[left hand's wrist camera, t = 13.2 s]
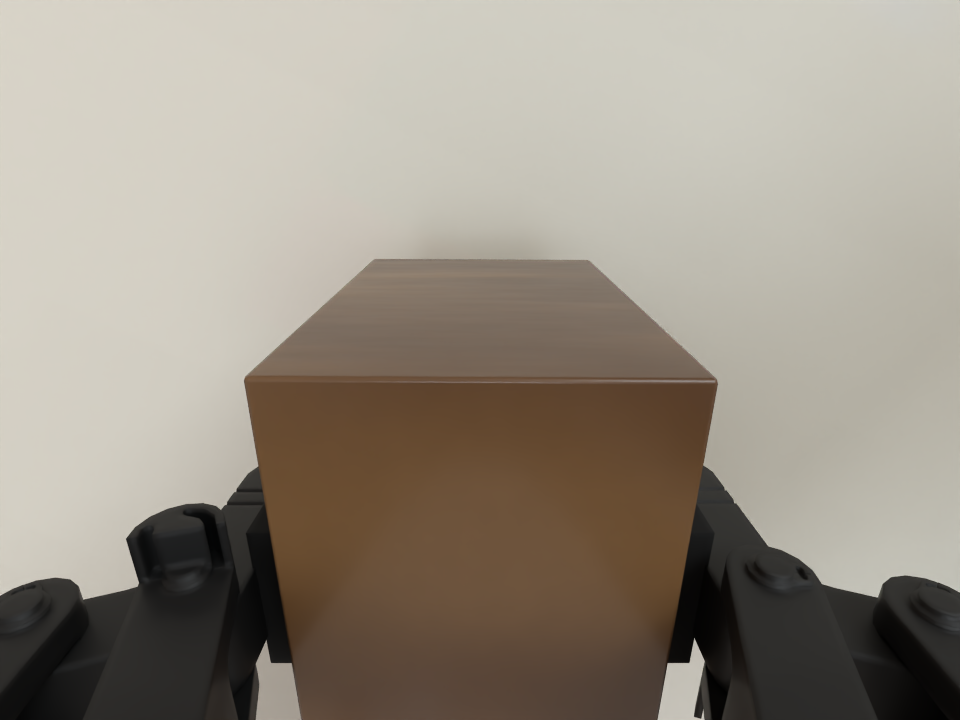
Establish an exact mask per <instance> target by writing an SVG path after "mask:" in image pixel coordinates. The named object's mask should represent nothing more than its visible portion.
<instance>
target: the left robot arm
mask: <svg viewBox="0 0 960 720" xmlns="http://www.w3.org/2000/svg"><path fill="white" fill-rule="evenodd" d="M126 540H127V544H128V547H129V551H130V554H131V557H132V561H133V564H134V567H135V571H136V574H137V577H138V581H139V585H138V587H135V588H132V589H129V590H125V591H120V592H116V593H112V594H107V595H103V596H98V597H94V598H90V599H85V600H83V598H82V595H81V592H80V589H79V586H78V585H76V584H75V583H74V582H73V581H71V580H70V579H62V578H50V579H44V580H38V581H34V582H31V583H28V584H25V585H22V586H19V587H17V588H14V589H12V590H10V591H8V592H6V593H5V594H3V595H1V596H0V720H256V710H257V701H258V691H259V680H258V673H257V668H256V662H257V659H258V657H259V655H260V653H261V650H262V648H263V646H264V644H265V642H266V639H267V644H268V650H269V655H270V660H271V663H292V661H291V655H290V649H289V643H288V637H287V631H286V625H285V619H284V613H283V607H282V602H281V596H280V590H279V584H278V578H277V572H276V566H275V560H274V554H273V548H272V543H271V537H270V531H269V525H268V519H267V513H266V507H265V501H264V495H263V489H262V483H261V478H260V472H259V467H257V468H256V469H254V470H253V471H251V472H250V473H248V475H247V476H246V477H245V479H244V480H243V481H242V483H241V484H240V485H239V487H238V488H237V492H234V493H233V495H232V496H231V498H230V499H229V500H228V502H227V505H225V506H224V507H223V508H222V510H220V509H219V508H218V507H216V506H213V505H208V504H204V503H199V504H185V505H181V506H177V507H173V508H169V509H166V510H164V511H162V512H160V513H158V514H155V515H153V516H151V517H149V518H148V519H146V520H145V521H143V522H142V523H141V524H139V525H138V526H136V527H135V528H134V530H133V531H132V532H131V533H130V535H129V536H128V537H127V538H126ZM694 638H695V640H696V642H697V645H698V647H699V649H700V651H701V654H702V656H703V658H704V660H705V663H704V668H703V673H702V677H701V682H700V687H699V692H698V696H697V701H696V706H695V713H694V717H697V718H701V717H702V713H703V709H704V718H705V720H960V593H959V592H957V591H956V590H954V589H952V588H950V587H948V586H945V585H943V584H940V583H937V582H934V581H931V580H928V579H925V578H918V577H912V576H898V577H891V578H890V579H889V580H887V581H886V582H885V583H884V584H883V585H882V588H881V591H880V594H879V596H878V598H876V597H872V596H867V595H863V594H859V593H854V592H850V591H845V590H841V589H837V588H833V587H829V586H826V585H823V584H821V582H820V581H819V579H818V578H817V576H816V575H815V573H814V572H813V570H811V569H810V568H809V567H808V566H807V565H805V564H804V563H803V562H802V561H800V560H799V559H798V558H796V557H794V556H792V555H790V554H788V553H786V552H784V551H782V550H779V549H775V548H772V547H768V546H767V544H766V543H765V542H764V540H763V539H762V538H761V536H760V535H759V534H758V532H757V531H756V530H755V528H754V527H753V525H752V524H751V523H750V521H749V520H748V519H747V517H746V516H745V515H744V513H743V512H742V511H741V509H740V508H739V507H738V505H737V504H734V500H733V499H732V497H731V496H730V495H729V493H728V492H727V491H725V490H724V487H723V485H722V484H721V482H720V481H719V480H718V478H717V477H716V476H715V474H714V473H713V472H712V471H710V470H709V469H708V468H706V467H705V466H703V469H702V474H701V480H700V485H699V491H698V496H697V502H696V508H695V513H694V519H693V524H692V530H691V535H690V541H689V547H688V552H687V558H686V563H685V569H684V574H683V580H682V585H681V591H680V597H679V602H678V608H677V613H676V619H675V624H674V630H673V636H672V641H671V647H670V652H669V658H668V663H689V662H690V657H691V652H692V647H693V642H694Z"/></svg>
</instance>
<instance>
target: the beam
mask: <svg viewBox="0 0 960 720" xmlns="http://www.w3.org/2000/svg"><path fill="white" fill-rule="evenodd" d="M244 383H245V389H246V395H247V401H248V407H249V413H250V419H251V424H252V430H253V436H254V442H255V448H256V454H257V460H258V466H259V472H260V478H261V483H262V489H263V495H264V501H265V507H266V513H267V519H268V525H269V531H270V537H271V543H272V548H273V554H274V560H275V566H276V572H277V578H278V584H279V590H280V596H281V602H282V607H283V613H284V619H285V625H286V631H287V637H288V643H289V649H290V655H291V661H292V666H293V672H294V678H295V684H296V690H297V696H298V702H299V708H300V714H301V720H657V719H658V713H659V708H660V702H661V697H662V691H663V686H664V680H665V674H666V669H667V663H668V658H669V652H670V647H671V641H672V636H673V630H674V624H675V619H676V613H677V608H678V602H679V597H680V591H681V585H682V580H683V574H684V569H685V563H686V558H687V552H688V547H689V541H690V535H691V530H692V524H693V519H694V513H695V508H696V502H697V496H698V491H699V485H700V480H701V474H702V469H703V463H704V458H705V452H706V446H707V441H708V435H709V430H710V424H711V419H712V413H713V407H714V402H715V396H716V391H717V385H718V382H717V379H716V378H715V377H714V376H713V375H712V374H711V373H710V372H709V371H708V370H706V369H705V368H704V367H703V366H702V365H701V364H700V363H699V362H698V361H697V360H696V359H695V358H694V357H692V356H691V355H690V354H689V353H688V352H687V351H686V350H685V349H684V348H683V347H682V346H681V345H679V344H678V343H677V342H676V341H675V340H674V339H673V338H672V337H671V336H670V335H669V334H668V333H667V332H665V331H664V330H663V329H662V328H661V327H660V326H659V325H658V324H657V323H656V322H655V321H654V320H653V319H651V318H650V317H649V316H648V315H647V314H646V313H645V312H644V311H643V310H642V309H641V308H640V307H639V306H637V305H636V304H635V303H634V302H633V301H632V300H631V299H630V298H629V297H628V296H627V295H626V294H624V293H623V292H622V291H621V290H620V289H619V288H618V287H617V286H616V285H615V284H614V283H613V282H612V281H610V280H609V279H608V278H607V277H606V276H605V275H604V274H603V273H602V272H601V271H600V270H599V269H598V268H596V267H595V266H594V265H593V264H592V263H591V262H590V261H588V260H446V259H375V260H373V261H372V262H371V263H370V264H369V265H368V266H366V267H365V268H364V269H363V270H362V271H361V272H360V273H359V274H358V275H357V276H355V277H354V278H353V279H352V280H351V281H350V282H349V283H348V284H347V285H346V286H344V287H343V288H342V289H341V290H340V291H339V292H338V293H337V294H336V295H335V296H333V297H332V298H331V299H330V300H329V301H328V302H327V303H326V304H325V305H324V306H322V307H321V308H320V309H319V310H318V311H317V312H316V313H315V314H314V315H313V316H311V317H310V318H309V319H308V320H307V321H306V322H305V323H304V324H303V325H302V326H300V327H299V328H298V329H297V330H296V331H295V332H294V333H293V334H292V335H291V336H289V337H288V338H287V339H286V340H285V341H284V342H283V343H282V344H281V345H280V346H278V347H277V348H276V349H275V350H274V351H273V352H272V353H271V354H270V355H269V356H267V357H266V358H265V359H264V360H263V361H262V362H261V363H260V364H259V365H258V366H256V367H255V368H254V369H253V370H252V371H251V372H250V373H249V374H248V375H247V376H245V380H244Z"/></svg>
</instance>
